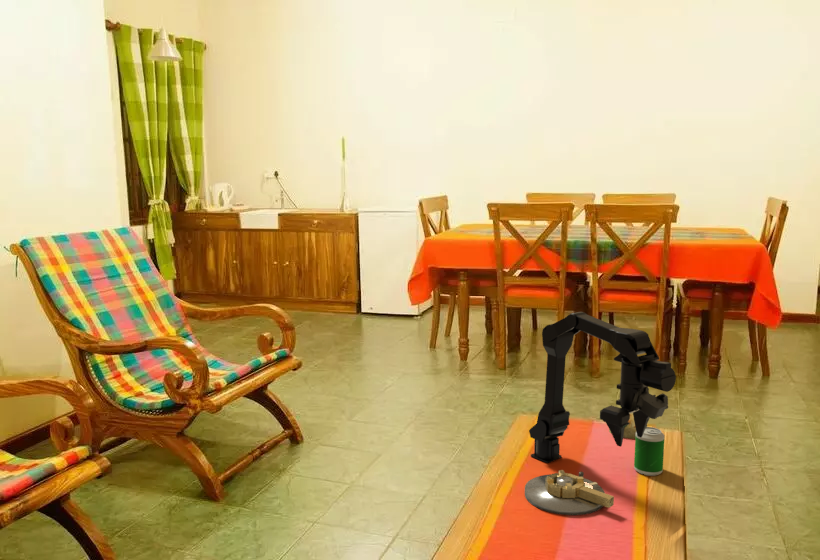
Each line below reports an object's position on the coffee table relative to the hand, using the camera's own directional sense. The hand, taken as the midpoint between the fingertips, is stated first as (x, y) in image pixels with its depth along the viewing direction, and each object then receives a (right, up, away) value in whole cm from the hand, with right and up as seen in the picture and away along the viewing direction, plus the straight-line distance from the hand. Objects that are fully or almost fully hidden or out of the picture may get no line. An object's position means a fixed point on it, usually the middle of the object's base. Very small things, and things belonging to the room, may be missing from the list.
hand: (629, 441), depth 177 cm
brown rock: (+13, -9, +42) cm, 44 cm away
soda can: (+10, -12, +16) cm, 23 cm away
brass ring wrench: (-13, -13, -1) cm, 18 cm away
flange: (-16, -14, +2) cm, 22 cm away
